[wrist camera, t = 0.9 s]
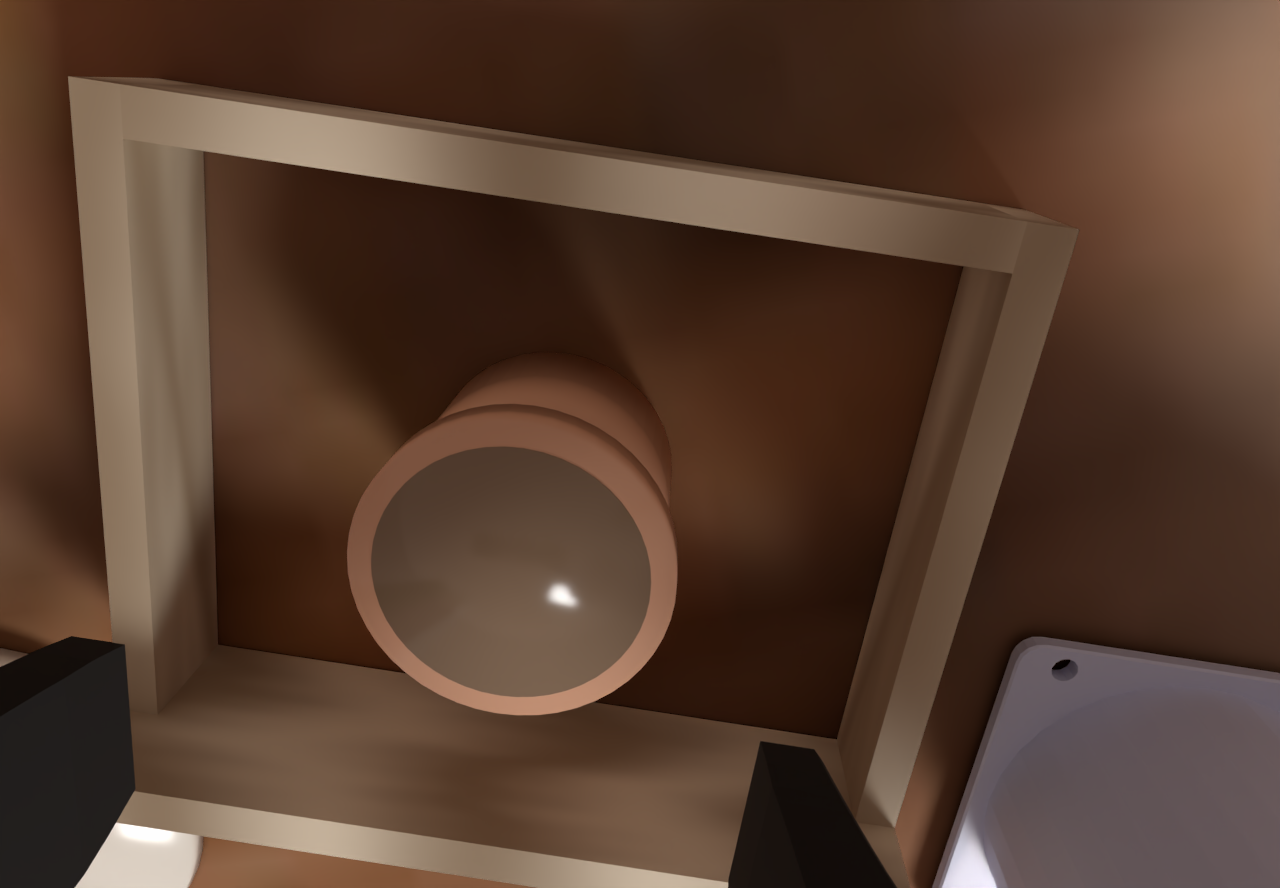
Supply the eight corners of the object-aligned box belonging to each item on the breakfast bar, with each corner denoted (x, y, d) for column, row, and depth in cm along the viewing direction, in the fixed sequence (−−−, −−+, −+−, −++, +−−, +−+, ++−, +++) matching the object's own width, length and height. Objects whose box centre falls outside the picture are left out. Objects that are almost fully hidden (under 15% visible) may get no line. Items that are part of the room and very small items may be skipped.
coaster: (197, 678, 21) (183, 694, 21) (208, 962, 24) (197, 983, 24) (-193, 618, 21) (-217, 633, 21) (-129, 910, 24) (-148, 929, 24)
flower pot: (701, 362, 18) (701, 451, 13) (661, 596, 20) (650, 739, 15) (434, 322, 18) (350, 397, 14) (420, 559, 20) (342, 691, 15)
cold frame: (1025, 209, 16) (1138, 250, 12) (863, 773, 21) (905, 944, 17) (156, 78, 16) (-28, 74, 12) (184, 669, 21) (56, 813, 17)
